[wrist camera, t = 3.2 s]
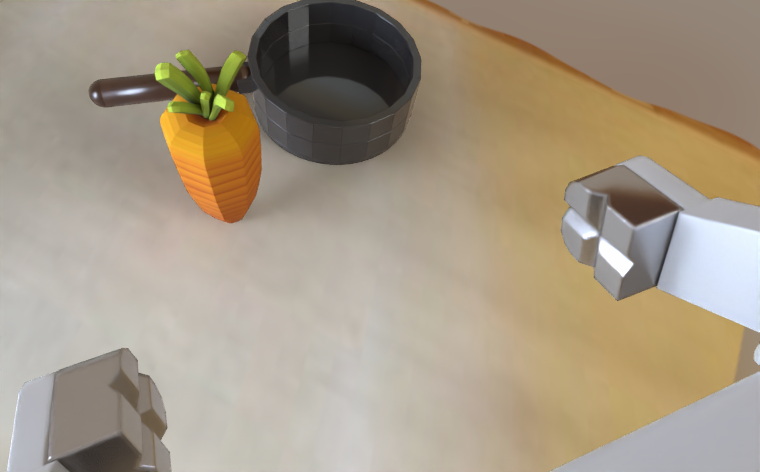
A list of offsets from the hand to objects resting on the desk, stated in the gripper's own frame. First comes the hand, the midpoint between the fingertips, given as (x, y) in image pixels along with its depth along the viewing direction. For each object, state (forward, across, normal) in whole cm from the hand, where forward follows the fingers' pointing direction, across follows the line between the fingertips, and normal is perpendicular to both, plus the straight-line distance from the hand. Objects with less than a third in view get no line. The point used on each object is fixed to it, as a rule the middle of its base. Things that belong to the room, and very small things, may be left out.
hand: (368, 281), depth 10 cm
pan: (+32, -7, +13) cm, 35 cm away
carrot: (+25, +3, +16) cm, 29 cm away
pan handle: (+32, +4, +9) cm, 33 cm away
